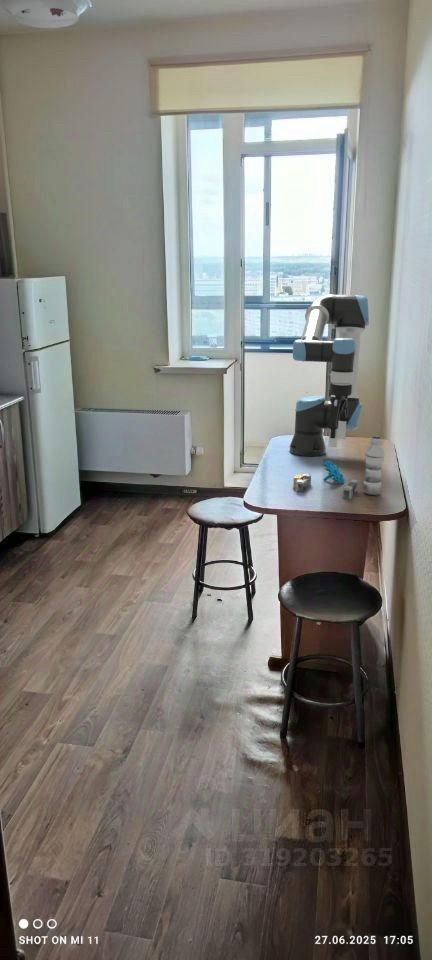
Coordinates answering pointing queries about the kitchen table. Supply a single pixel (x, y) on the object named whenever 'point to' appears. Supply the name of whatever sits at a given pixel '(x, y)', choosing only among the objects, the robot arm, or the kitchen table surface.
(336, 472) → the gear
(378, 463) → the plastic bottle
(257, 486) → the kitchen table surface
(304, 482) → the support blocks
